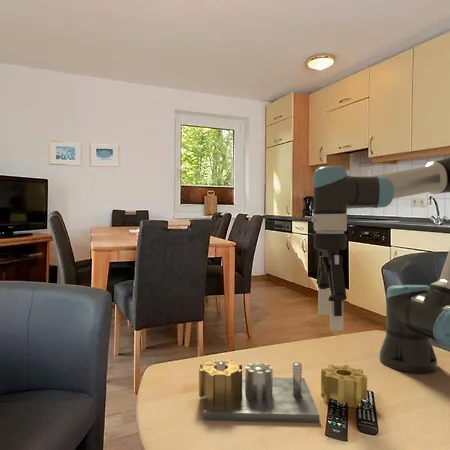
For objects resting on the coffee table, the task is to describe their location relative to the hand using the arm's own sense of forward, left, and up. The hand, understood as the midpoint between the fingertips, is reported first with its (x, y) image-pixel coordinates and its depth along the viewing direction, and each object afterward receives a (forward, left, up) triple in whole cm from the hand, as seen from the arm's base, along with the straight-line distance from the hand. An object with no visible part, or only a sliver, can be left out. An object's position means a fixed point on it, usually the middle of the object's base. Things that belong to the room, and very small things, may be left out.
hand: (329, 321), depth 89 cm
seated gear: (+26, +3, -16) cm, 30 cm away
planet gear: (-3, +1, -18) cm, 18 cm away
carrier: (+17, +3, -18) cm, 25 cm away
